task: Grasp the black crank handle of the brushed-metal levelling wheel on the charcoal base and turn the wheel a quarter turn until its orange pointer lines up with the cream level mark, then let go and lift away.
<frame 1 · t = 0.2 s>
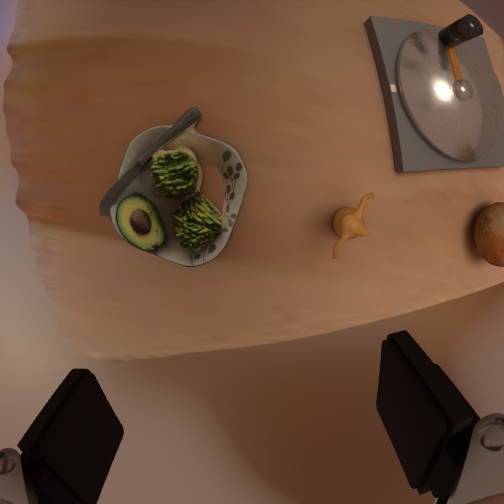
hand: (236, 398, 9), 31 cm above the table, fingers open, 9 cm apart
salad plate: (173, 197, 38), on the table
level wheel: (472, 87, 26), point 7 cm above the table, hinge at 0.0°
instrument base: (444, 95, 33), on the table
onion: (482, 227, 39), on the table
figurine: (337, 216, 38), on the table
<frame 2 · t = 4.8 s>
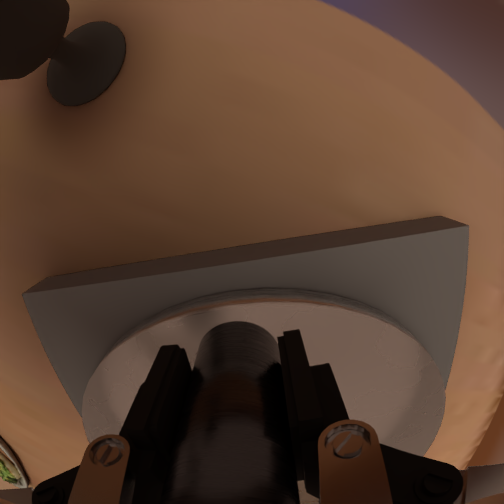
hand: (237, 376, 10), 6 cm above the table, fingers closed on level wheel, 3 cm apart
instrument base: (264, 416, 17), on the table
sundae: (85, 62, 12), on the table
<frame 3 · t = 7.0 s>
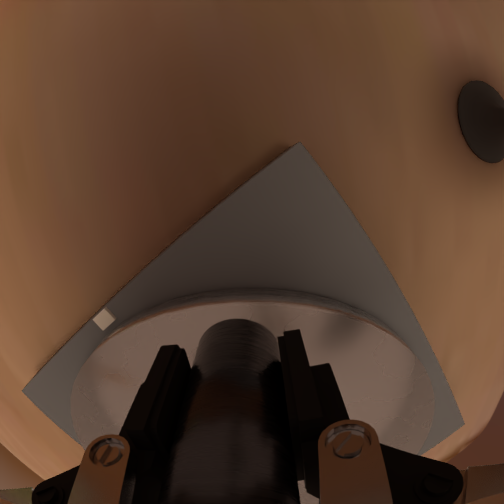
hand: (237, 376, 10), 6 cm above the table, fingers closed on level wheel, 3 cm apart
instrument base: (252, 416, 17), on the table
sundae: (484, 120, 12), on the table
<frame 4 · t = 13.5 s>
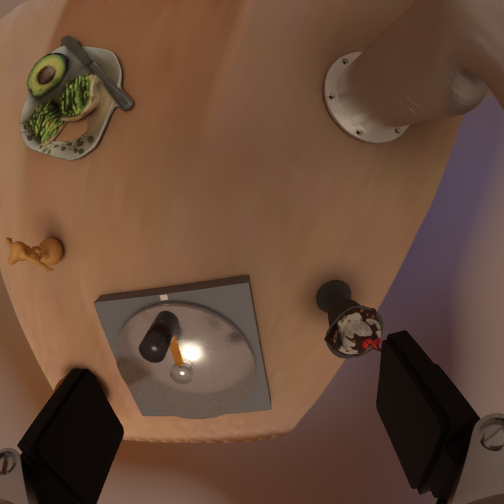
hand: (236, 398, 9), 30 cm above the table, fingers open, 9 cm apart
salad plate: (69, 98, 33), on the table
level wheel: (178, 383, 36), point 7 cm above the table, hinge at 88.8°
instrument base: (187, 353, 43), on the table
sundae: (333, 295, 41), on the table
figurine: (59, 242, 38), on the table
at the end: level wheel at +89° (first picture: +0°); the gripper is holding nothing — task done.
